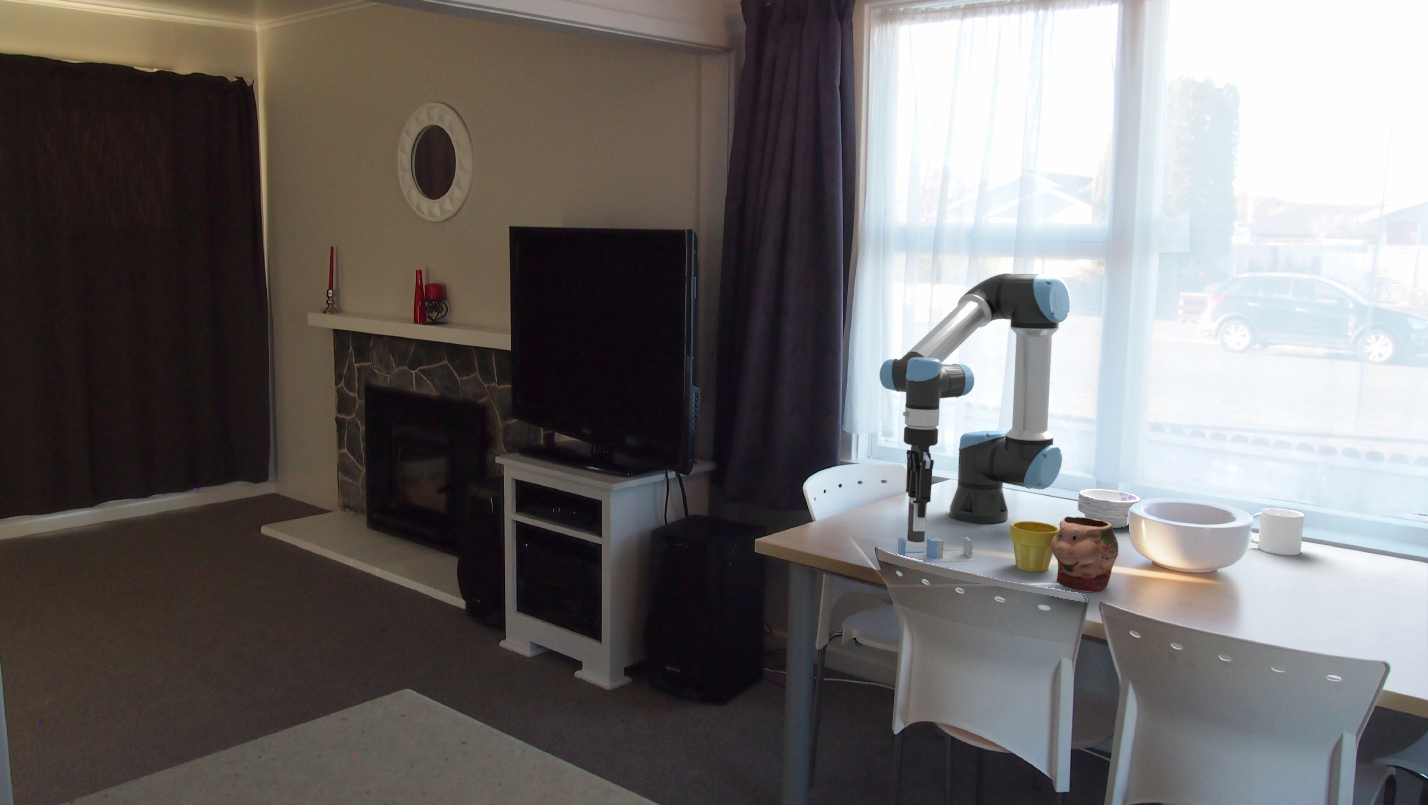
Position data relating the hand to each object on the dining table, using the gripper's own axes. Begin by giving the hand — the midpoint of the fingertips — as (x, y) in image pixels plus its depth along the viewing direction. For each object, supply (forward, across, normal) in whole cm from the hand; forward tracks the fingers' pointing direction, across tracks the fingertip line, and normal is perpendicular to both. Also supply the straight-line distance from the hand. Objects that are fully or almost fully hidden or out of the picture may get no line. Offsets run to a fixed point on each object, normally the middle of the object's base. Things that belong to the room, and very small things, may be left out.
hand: (916, 528), depth 232 cm
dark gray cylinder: (+3, 0, 0) cm, 3 cm away
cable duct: (+7, 0, +5) cm, 8 cm away
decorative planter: (+7, +20, +31) cm, 38 cm away
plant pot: (+7, +9, +24) cm, 27 cm away
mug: (+7, -5, +89) cm, 90 cm away
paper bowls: (+7, -30, +60) cm, 68 cm away
